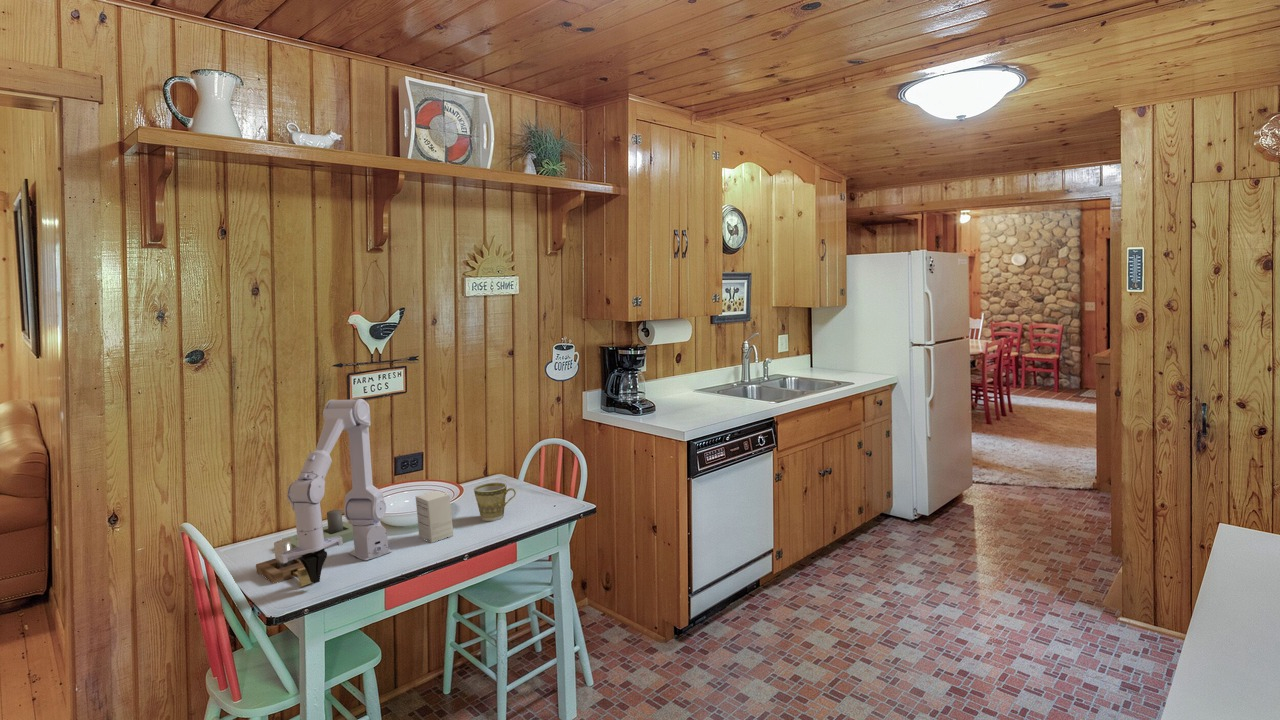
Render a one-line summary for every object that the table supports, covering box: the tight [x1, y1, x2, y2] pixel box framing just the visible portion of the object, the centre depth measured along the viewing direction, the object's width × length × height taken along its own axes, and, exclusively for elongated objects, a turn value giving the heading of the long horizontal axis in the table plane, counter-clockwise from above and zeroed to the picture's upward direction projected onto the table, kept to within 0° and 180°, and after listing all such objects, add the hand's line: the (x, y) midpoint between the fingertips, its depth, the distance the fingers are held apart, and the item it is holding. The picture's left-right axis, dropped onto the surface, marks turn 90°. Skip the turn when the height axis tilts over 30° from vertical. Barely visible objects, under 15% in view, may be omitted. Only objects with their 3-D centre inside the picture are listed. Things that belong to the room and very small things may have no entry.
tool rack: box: [281, 509, 354, 549], centre depth 206 cm, size 12×18×8 cm, turn 138°
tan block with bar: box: [293, 567, 313, 587], centre depth 177 cm, size 8×4×4 cm, turn 48°
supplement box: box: [415, 490, 454, 544], centre depth 205 cm, size 7×7×13 cm
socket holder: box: [255, 558, 304, 584], centre depth 185 cm, size 12×10×2 cm
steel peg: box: [273, 539, 293, 572], centre depth 184 cm, size 4×4×8 cm
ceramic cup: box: [473, 481, 517, 522], centre depth 220 cm, size 13×10×10 cm
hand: (315, 581), depth 172 cm, fingers closed
